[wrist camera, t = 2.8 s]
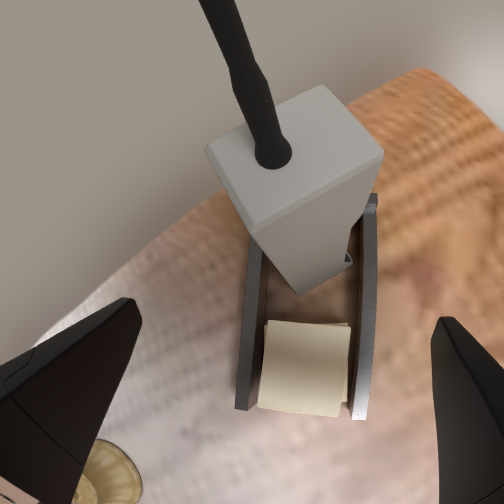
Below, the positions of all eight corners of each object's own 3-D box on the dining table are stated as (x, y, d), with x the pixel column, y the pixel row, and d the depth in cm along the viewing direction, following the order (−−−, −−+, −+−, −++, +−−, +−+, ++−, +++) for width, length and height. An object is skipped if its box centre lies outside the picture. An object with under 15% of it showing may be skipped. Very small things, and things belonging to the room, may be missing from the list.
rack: (361, 410, 21) (367, 423, 18) (244, 401, 24) (230, 411, 20) (371, 213, 25) (377, 193, 22) (261, 211, 28) (250, 191, 24)
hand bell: (137, 518, 22) (36, 580, 7) (79, 481, 25) (-27, 515, 10) (148, 463, 24) (24, 522, 9) (85, 426, 26) (-39, 448, 11)
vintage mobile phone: (352, 265, 25) (417, -121, 1) (298, 297, 25) (39, -25, 1) (328, 227, 26) (280, -135, 2) (276, 257, 26) (56, -51, 3)
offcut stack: (343, 402, 22) (346, 417, 18) (266, 397, 24) (252, 410, 19) (349, 324, 24) (354, 322, 19) (272, 321, 25) (260, 318, 21)
